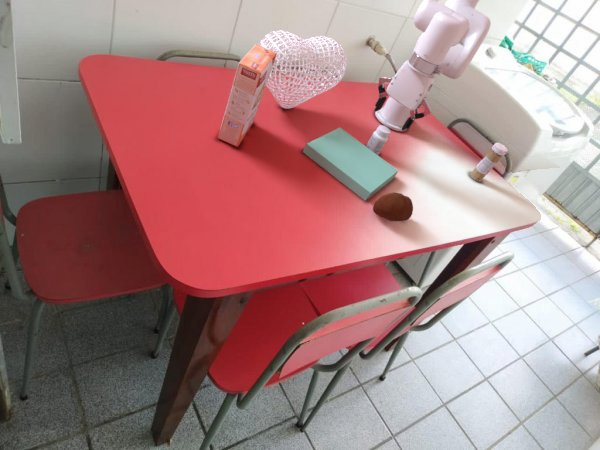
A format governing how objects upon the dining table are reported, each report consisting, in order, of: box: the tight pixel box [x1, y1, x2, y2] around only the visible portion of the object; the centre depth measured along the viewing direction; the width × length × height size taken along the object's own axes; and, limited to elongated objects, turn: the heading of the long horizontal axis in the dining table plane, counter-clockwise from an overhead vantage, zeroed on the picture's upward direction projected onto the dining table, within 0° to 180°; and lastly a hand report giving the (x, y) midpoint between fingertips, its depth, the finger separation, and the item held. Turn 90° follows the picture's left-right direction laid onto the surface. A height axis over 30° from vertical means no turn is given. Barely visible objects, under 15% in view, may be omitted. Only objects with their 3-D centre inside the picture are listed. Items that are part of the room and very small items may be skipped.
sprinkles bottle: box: [469, 142, 508, 183], centre depth 134 cm, size 5×5×13 cm
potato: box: [372, 191, 414, 222], centre depth 103 cm, size 8×12×8 cm, turn 110°
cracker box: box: [217, 43, 278, 148], centre depth 101 cm, size 14×6×21 cm, turn 168°
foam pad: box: [302, 127, 399, 202], centre depth 115 cm, size 18×22×3 cm
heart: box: [258, 29, 348, 110], centre depth 118 cm, size 28×16×22 cm, turn 123°
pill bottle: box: [365, 124, 391, 156], centre depth 123 cm, size 5×5×8 cm
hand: (390, 119), depth 117 cm, fingers open, 9 cm apart
